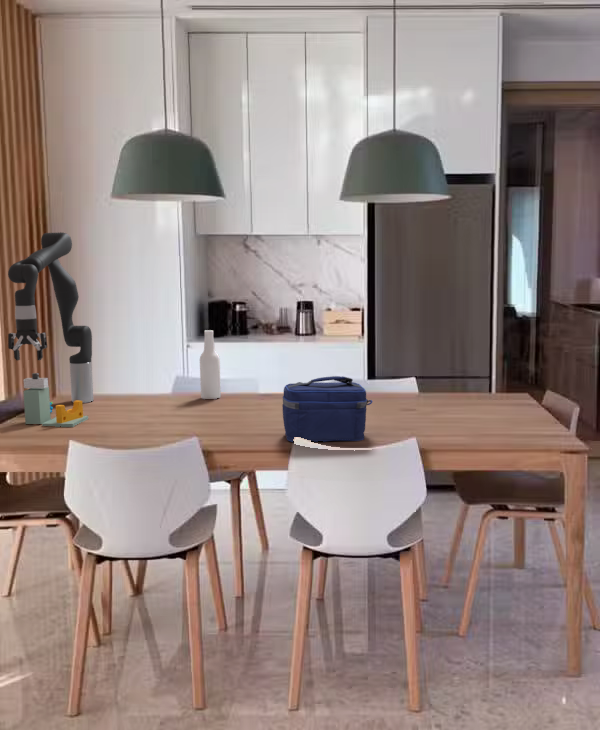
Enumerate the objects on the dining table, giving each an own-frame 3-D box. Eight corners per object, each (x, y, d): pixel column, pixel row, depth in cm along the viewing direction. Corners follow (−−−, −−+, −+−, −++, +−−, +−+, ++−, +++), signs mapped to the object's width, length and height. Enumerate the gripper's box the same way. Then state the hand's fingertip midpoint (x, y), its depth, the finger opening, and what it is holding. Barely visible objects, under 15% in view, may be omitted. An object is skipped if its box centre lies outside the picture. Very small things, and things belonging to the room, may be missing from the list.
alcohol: (197, 399, 351) (194, 331, 347) (207, 395, 359) (205, 329, 355) (214, 400, 348) (212, 331, 344) (224, 397, 356) (222, 329, 352)
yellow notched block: (74, 416, 312) (73, 400, 311) (83, 417, 310) (82, 400, 309) (52, 422, 301) (51, 405, 300) (61, 423, 299) (60, 406, 298)
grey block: (28, 386, 307) (27, 372, 307) (48, 386, 306) (47, 372, 306) (24, 388, 304) (23, 374, 303) (44, 388, 303) (43, 374, 302)
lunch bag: (365, 427, 289) (365, 371, 286) (378, 440, 269) (378, 380, 266) (280, 431, 286) (279, 374, 283) (286, 444, 265) (285, 383, 262)
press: (39, 418, 315) (37, 385, 313) (88, 418, 312) (86, 385, 310) (21, 426, 300) (19, 392, 298) (73, 427, 298) (71, 392, 296)
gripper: (48, 316, 305) (50, 358, 307) (12, 316, 306) (14, 359, 308) (40, 318, 297) (42, 361, 299) (3, 318, 298) (6, 361, 301)
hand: (28, 360), depth 304 cm, fingers open, 8 cm apart
